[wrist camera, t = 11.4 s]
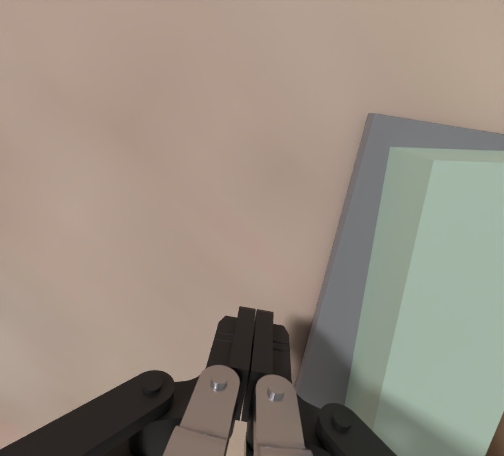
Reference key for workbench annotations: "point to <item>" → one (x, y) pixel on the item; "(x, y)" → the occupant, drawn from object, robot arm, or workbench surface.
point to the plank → (434, 305)
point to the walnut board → (497, 440)
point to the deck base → (364, 249)
